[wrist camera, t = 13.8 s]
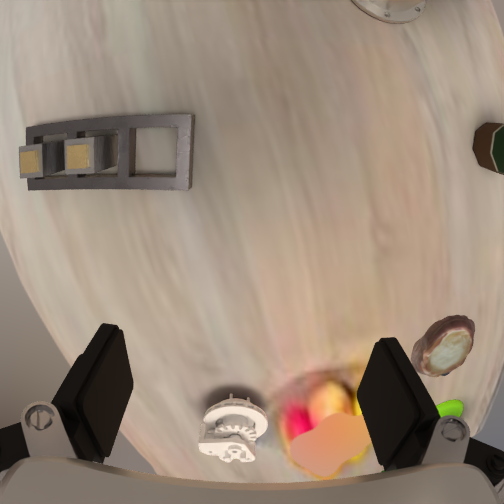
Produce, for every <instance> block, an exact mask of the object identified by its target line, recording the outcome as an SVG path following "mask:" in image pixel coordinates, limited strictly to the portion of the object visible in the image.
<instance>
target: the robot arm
mask: <svg viewBox="0 0 504 504" xmlns="http://www.w3.org/2000/svg"><path fill="white" fill-rule="evenodd" d="M352 1H353V2H354V3H355V4H356V5H357V6H358V7H359V8H360V9H362V10H363V11H364V12H366V13H367V14H369V15H371V16H373V17H375V18H377V19H379V20H382V21H385V22H389V23H400V24H402V23H407V22H410V21H412V20H414V19H416V18H417V17H419V16H420V15H421V14H422V12H423V10H424V8H425V2H426V0H352ZM132 390H133V377H132V373H131V369H130V364H129V359H128V354H127V350H126V344H125V339H124V334H123V331H122V330H121V329H119V327H118V326H117V325H113V324H106V323H103V324H101V326H100V327H99V329H98V330H97V332H96V334H95V335H94V337H93V338H92V340H91V342H90V343H89V345H88V346H87V348H86V350H85V351H84V353H83V354H81V355H79V356H78V358H77V359H76V361H75V363H74V364H73V366H72V368H71V369H70V371H69V373H68V374H67V376H66V378H65V379H64V381H63V383H62V384H61V386H60V388H59V390H58V391H57V393H56V395H55V397H54V398H53V400H52V402H51V403H49V402H45V401H38V402H34V403H32V404H30V405H28V406H27V407H26V408H25V409H24V411H23V412H22V415H21V422H19V423H17V424H14V425H11V426H8V427H5V428H2V429H0V504H504V452H503V451H502V450H499V449H497V448H494V447H492V446H490V445H487V444H485V443H482V442H480V441H478V440H475V439H473V438H471V437H470V429H469V426H468V425H467V423H466V422H465V421H464V420H463V419H461V418H459V417H457V416H453V415H446V416H443V417H441V416H440V414H439V411H438V409H437V407H436V406H435V404H434V402H433V400H432V398H431V397H430V395H429V393H428V391H427V389H426V388H425V386H424V384H423V382H422V381H421V379H420V377H419V375H418V374H417V372H416V370H415V369H414V367H413V365H412V363H411V362H410V360H409V358H408V357H407V355H406V353H405V352H404V350H403V348H402V347H401V345H400V343H399V342H398V340H397V339H396V338H394V337H391V338H381V339H380V340H379V342H376V343H375V345H374V348H373V351H372V353H371V356H370V359H369V362H368V364H367V367H366V370H365V372H364V375H363V378H362V380H361V383H360V385H359V388H358V391H357V400H358V402H359V405H360V408H361V411H362V414H363V416H364V420H365V423H366V426H367V429H368V432H369V435H370V438H371V441H372V444H373V447H374V450H375V453H376V456H377V459H378V462H379V464H380V465H383V467H384V470H385V472H381V473H375V474H369V475H363V476H356V477H349V478H342V479H333V480H323V481H311V482H295V483H229V482H213V481H201V480H191V479H182V478H174V477H167V476H160V475H154V474H148V473H143V472H137V471H132V470H127V469H122V468H117V467H113V466H108V465H104V464H103V462H104V458H105V457H109V456H110V454H111V451H112V447H113V445H114V442H115V438H116V436H117V433H118V430H119V427H120V424H121V421H122V418H123V415H124V412H125V410H126V407H127V404H128V401H129V399H130V396H131V393H132ZM93 461H94V462H98V463H94V462H93ZM100 463H102V464H100ZM396 469H397V470H396Z"/></svg>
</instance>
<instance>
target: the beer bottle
mask: <svg viewBox="0 0 504 504" xmlns="http://www.w3.org/2000/svg"><path fill="white" fill-rule="evenodd" d="M473 150H474V153H475V155H476V158H477V160H478V163H479V165H480V166H482V167H484V168H487V169H489V170H491V171H494V172H496V173H499V174H502V175H504V124H500V123H486V124H485V125H483V126H482V127H481V128H480V129H478V130H477V131H476V132H475V139H474V146H473Z"/></svg>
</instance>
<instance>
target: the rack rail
mask: <svg viewBox="0 0 504 504" xmlns="http://www.w3.org/2000/svg"><path fill="white" fill-rule="evenodd" d="M194 122H195V115H192V114H166V115H135V116H118V117H105V118H93V119H83V120H74V121H66V122H58V123H51V124H44V125H38V126H32V127H26V146H27V145H32V144H38V143H43V136H44V135H52V134H60V133H67V140H68V139H75V138H83V137H85V131H91V130H104V129H118V174H98V175H86V174H68V175H66V176H45V177H34V178H27V183H28V191H29V190H61V189H150V190H185V191H188V190H189V189H190V188H191V187H192V163H193V140H194ZM147 127H178V136H177V163H176V175H167V174H135V148H136V128H147Z"/></svg>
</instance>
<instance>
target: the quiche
mask: <svg viewBox="0 0 504 504" xmlns="http://www.w3.org/2000/svg"><path fill="white" fill-rule="evenodd" d="M474 332H475V324H474V322H473V321H472V320H470V319H468V318H467V316H460V315H454V316H448V317H446V318H444V319H442V320H439V321H437V322H435V323H434V324H433V325H432V326H431V327H430V328H429V329H428V330H427V332H426V333H425V335H424V336H423V337H422V338H421V339H419V340H418V341H417V342H416V343H415V344H414V347H413V351H412V355H411V362H412V365H413V367H414V369H415V370H416V372H418V373H420V374H424V375H428V376H430V377H438V376H440V375H442V376H446V375H448V374H449V373H450V372H451V371H452V370H454V369H456V368H457V367H459V366H461V365H462V364H463V363H464V361H465V359H466V357H467V355H468V354H469V353H470V351H471V349H472V346H473V337H474Z"/></svg>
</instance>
